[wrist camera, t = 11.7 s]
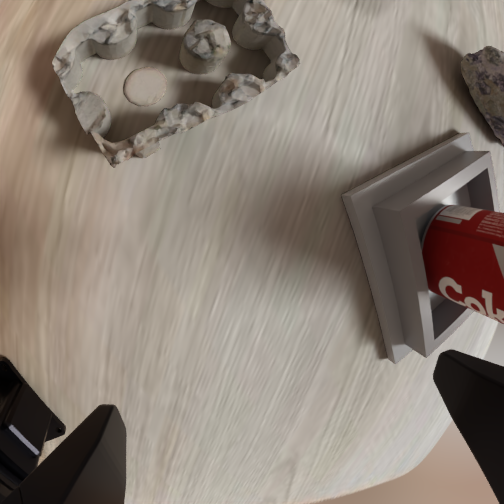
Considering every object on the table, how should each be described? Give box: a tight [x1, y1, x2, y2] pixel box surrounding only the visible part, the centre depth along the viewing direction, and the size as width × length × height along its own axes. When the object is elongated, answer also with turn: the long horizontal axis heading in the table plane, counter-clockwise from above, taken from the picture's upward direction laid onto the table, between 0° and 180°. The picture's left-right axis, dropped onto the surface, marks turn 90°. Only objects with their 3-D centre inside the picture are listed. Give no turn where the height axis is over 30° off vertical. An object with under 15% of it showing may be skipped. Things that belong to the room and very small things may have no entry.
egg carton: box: [52, 0, 300, 168], centre depth 13 cm, size 11×8×4 cm
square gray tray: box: [341, 133, 500, 364], centre depth 21 cm, size 14×14×4 cm
